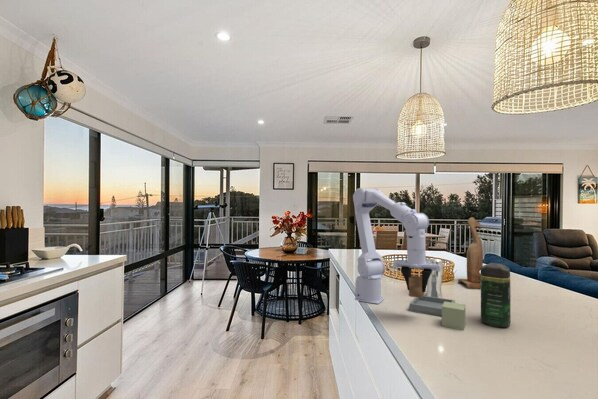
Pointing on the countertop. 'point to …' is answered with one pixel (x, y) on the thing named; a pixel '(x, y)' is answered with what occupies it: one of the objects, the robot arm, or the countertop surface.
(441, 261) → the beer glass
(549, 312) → the countertop surface
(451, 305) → the olive block
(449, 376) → the countertop surface
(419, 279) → the walnut block
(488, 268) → the coffee jar
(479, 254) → the bird sculpture
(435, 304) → the grey tray
